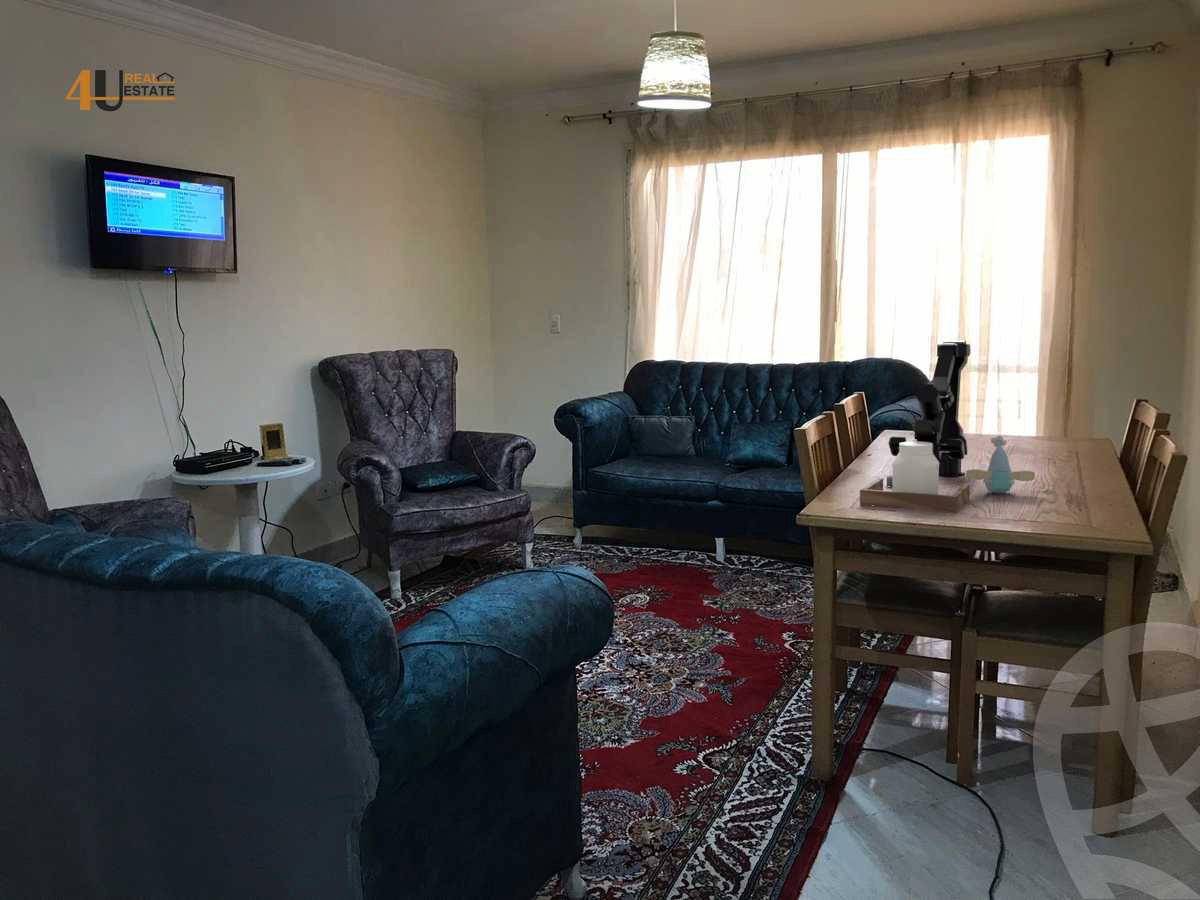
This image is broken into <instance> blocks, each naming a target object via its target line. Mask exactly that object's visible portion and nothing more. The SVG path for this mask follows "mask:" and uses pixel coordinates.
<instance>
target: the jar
mask: <svg viewBox="0 0 1200 900" xmlns="http://www.w3.org/2000/svg"><path fill="white" fill-rule="evenodd" d="M891 464H892V465H891V466H892V476H893V480H892V488H891V491H895V492H909V493H923V494H937V495H939V482H940V481H939V477H940V475H939V462H938V460H937V459H936V457H935V456H934V454H933V444H932V443H929V442H919V441H916V440H914V441H912V440H911V441H907V442H901V443H899V453H898V455H897V456H894V458H893V460H892V463H891Z"/></svg>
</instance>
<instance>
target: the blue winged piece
mask: <svg viewBox="0 0 1200 900" xmlns="http://www.w3.org/2000/svg"><path fill="white" fill-rule="evenodd" d="M990 442H991V443H992V444H993V445H994V447H995V450H994V451H993V453H992V454H991V456H990V460H989V464H988V467H987V470H983V469H973V468H972V469H968V470H966V471H965V477H966V479H968V480H974V481H977V480H979V481H980V480H983V482H982V483H983V484H984V486H985V488H986V489H987V490H988V491H990V492H991V493H993V494H1005V493H1007V492H1008V491H1010V490H1011V489H1012V487H1013V485H1014V484H1015V481H1019V482H1020V481H1021V482H1031V481H1034V480H1035V477H1036V474H1035V472H1034V471H1032V470H1012V469H1011V466H1010V463H1009V459H1008V455H1007V452H1006V451H1005V450H1004V449H1003V447H1004V446H1006V445H1007V444H1008V443H1007V440H1006V439H1005V438H1003V436H1002V435H1001V434H1000V435H997V436H996V437H995V436H993V437H992V438H991V439H990Z"/></svg>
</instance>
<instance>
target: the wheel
mask: <svg viewBox="0 0 1200 900" xmlns="http://www.w3.org/2000/svg"><path fill="white" fill-rule="evenodd" d="M892 480H893V475H888V476H886V487H887V486H890V487H889V488H891V487H892Z"/></svg>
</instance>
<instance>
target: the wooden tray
mask: <svg viewBox="0 0 1200 900" xmlns="http://www.w3.org/2000/svg"><path fill="white" fill-rule="evenodd" d="M970 490H971V484H970V483H963V485H962V486H961V487H959V488H958V489H957V490H956V491H955V492H954V493H953V494H951V495H950V494H949V495H948V494H938V495H937V494H923V493H909V492H895V491H892V490H884V477H883V478H882V477H878V478H876V479H875V480H874V481H872V482H870V483H868V484H867V485H865V486H864V487H862V488H861V489H859V505H860V504H862V505H861V506H863V505H874V506H873V507H875V506H882V507H881V508H888V507H892V508H891V509H900V508H904V510H913V509H918V510H917V511H925V510H928V512H939V513H940V512H941V513H951V514H952V513H953V514H956V513H957V512H958V511H959V510H961V508H962V507H963V506H964V505H965V504H967V502H968V501H969V500H970V495H971V494H970Z"/></svg>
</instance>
